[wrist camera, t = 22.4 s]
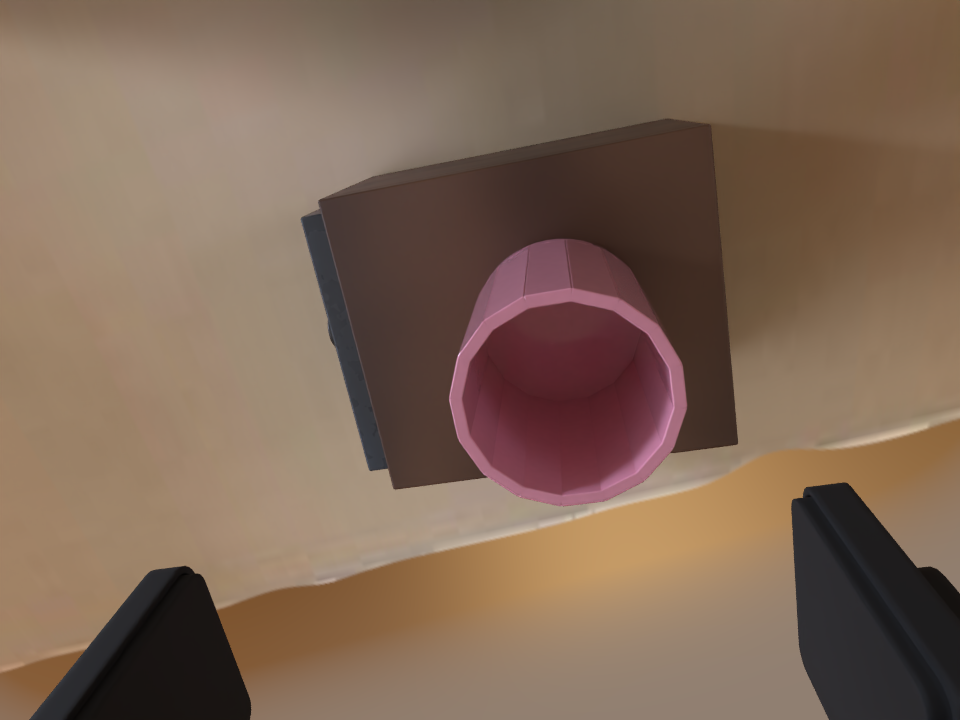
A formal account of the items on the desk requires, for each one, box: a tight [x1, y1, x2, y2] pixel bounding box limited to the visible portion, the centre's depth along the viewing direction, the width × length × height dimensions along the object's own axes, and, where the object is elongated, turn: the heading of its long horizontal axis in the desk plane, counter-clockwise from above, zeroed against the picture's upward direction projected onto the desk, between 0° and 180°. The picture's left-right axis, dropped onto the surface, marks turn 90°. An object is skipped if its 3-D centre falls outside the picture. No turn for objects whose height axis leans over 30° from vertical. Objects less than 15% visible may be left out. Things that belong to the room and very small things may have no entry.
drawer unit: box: [318, 119, 738, 489], centre depth 33 cm, size 15×13×9 cm
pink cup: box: [449, 239, 687, 506], centre depth 25 cm, size 7×7×8 cm
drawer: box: [301, 209, 388, 471], centre depth 33 cm, size 15×12×7 cm
